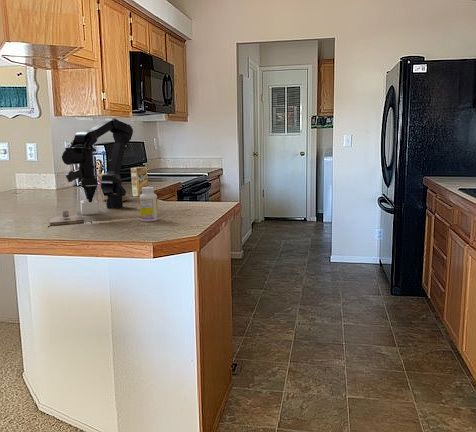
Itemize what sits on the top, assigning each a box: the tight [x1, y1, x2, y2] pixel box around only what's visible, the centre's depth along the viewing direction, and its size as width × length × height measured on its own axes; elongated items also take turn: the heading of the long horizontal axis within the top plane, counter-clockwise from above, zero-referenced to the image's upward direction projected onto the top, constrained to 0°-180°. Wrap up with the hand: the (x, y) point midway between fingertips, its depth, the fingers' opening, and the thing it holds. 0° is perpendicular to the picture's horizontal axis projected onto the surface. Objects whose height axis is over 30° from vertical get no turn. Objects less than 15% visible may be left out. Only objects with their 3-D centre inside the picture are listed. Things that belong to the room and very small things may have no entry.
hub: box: [48, 209, 85, 227], centre depth 184 cm, size 12×12×5 cm
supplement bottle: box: [139, 186, 159, 223], centre depth 185 cm, size 7×7×13 cm
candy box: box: [130, 166, 149, 197], centre depth 262 cm, size 9×4×15 cm, turn 150°
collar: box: [79, 199, 99, 216], centre depth 200 cm, size 6×6×5 cm
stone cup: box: [97, 172, 129, 202], centre depth 241 cm, size 15×12×15 cm
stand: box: [76, 209, 104, 217], centre depth 200 cm, size 10×10×4 cm
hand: (89, 200), depth 199 cm, fingers open, 9 cm apart
